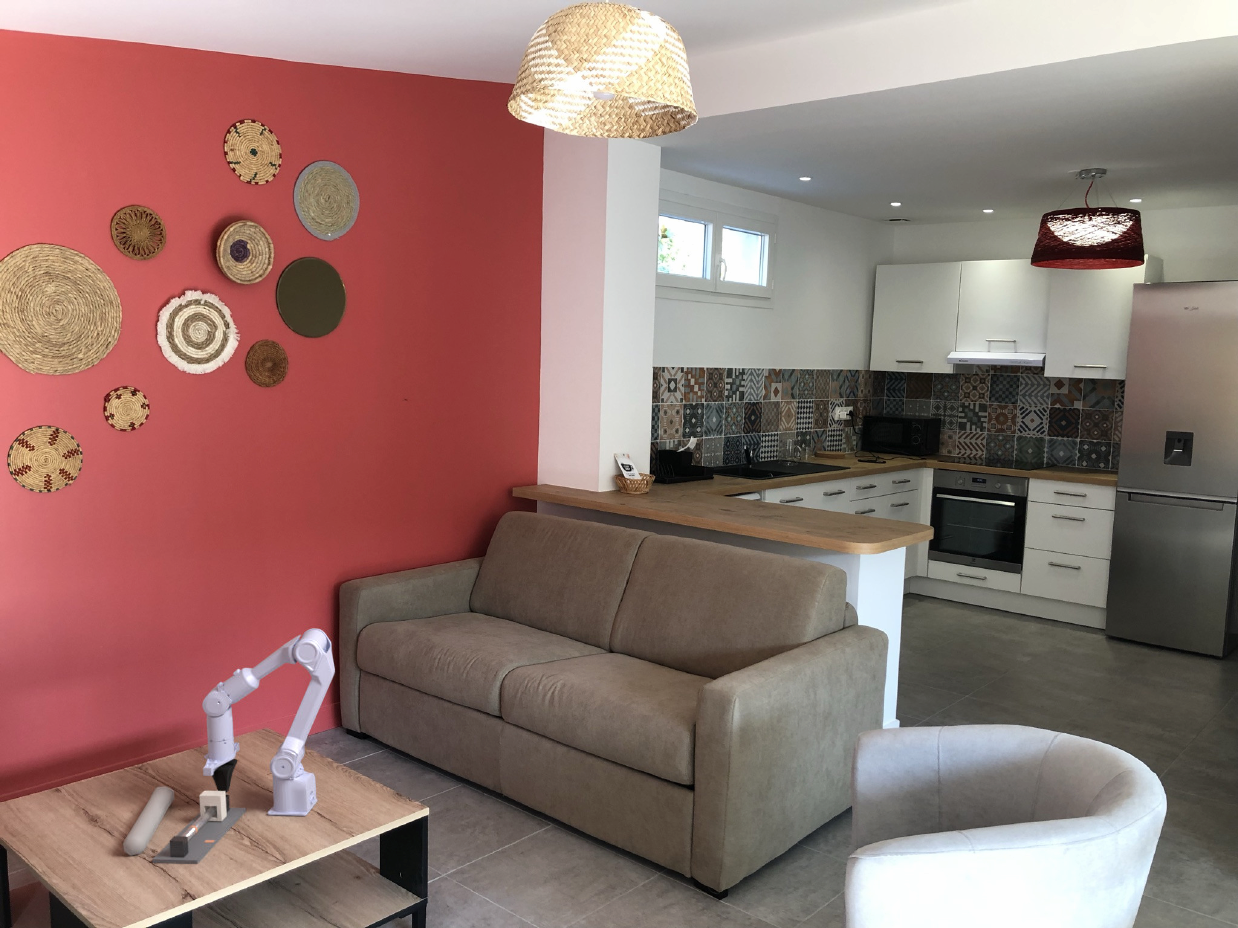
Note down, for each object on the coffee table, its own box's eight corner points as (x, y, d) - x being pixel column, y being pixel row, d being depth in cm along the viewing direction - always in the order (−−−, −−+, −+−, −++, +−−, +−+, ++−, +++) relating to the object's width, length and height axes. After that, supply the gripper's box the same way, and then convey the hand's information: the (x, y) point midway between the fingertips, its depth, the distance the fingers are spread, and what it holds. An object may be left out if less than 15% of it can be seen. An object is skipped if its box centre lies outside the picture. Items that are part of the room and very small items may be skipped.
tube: (148, 840, 213) (177, 788, 237) (122, 835, 212) (154, 783, 236) (141, 862, 213) (171, 808, 238) (116, 857, 212) (148, 803, 237)
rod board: (246, 810, 234) (245, 792, 233) (197, 863, 210) (196, 843, 210) (205, 810, 234) (204, 791, 234) (152, 862, 211) (151, 842, 210)
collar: (226, 815, 229) (225, 790, 228) (221, 821, 227) (220, 795, 226) (206, 815, 229) (204, 790, 229) (200, 820, 227) (199, 795, 226)
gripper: (218, 724, 239) (221, 777, 240) (189, 749, 224) (192, 805, 226) (246, 725, 238) (249, 778, 240) (218, 749, 224) (222, 805, 226)
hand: (223, 791), depth 233 cm, fingers closed
